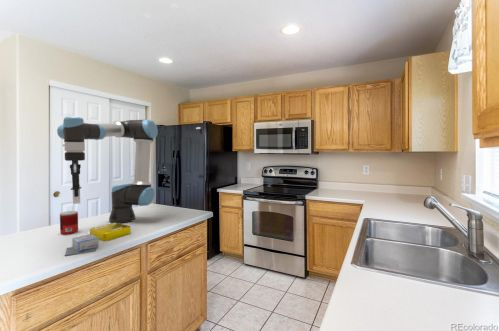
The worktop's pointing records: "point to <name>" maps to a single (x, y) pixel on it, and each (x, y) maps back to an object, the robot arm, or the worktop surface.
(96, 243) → the medicine box
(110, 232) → the element tile
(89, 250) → the mat
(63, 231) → the canned food
